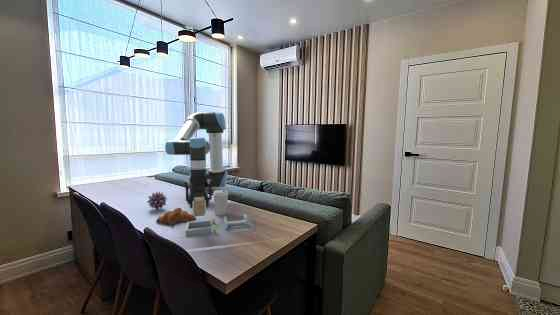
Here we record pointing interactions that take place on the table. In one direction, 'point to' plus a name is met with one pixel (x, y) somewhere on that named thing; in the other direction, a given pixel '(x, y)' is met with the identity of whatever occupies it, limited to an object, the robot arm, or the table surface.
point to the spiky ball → (157, 200)
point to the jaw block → (199, 206)
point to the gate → (235, 222)
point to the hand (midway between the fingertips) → (199, 213)
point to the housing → (211, 228)
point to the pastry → (175, 217)
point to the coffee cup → (220, 201)
